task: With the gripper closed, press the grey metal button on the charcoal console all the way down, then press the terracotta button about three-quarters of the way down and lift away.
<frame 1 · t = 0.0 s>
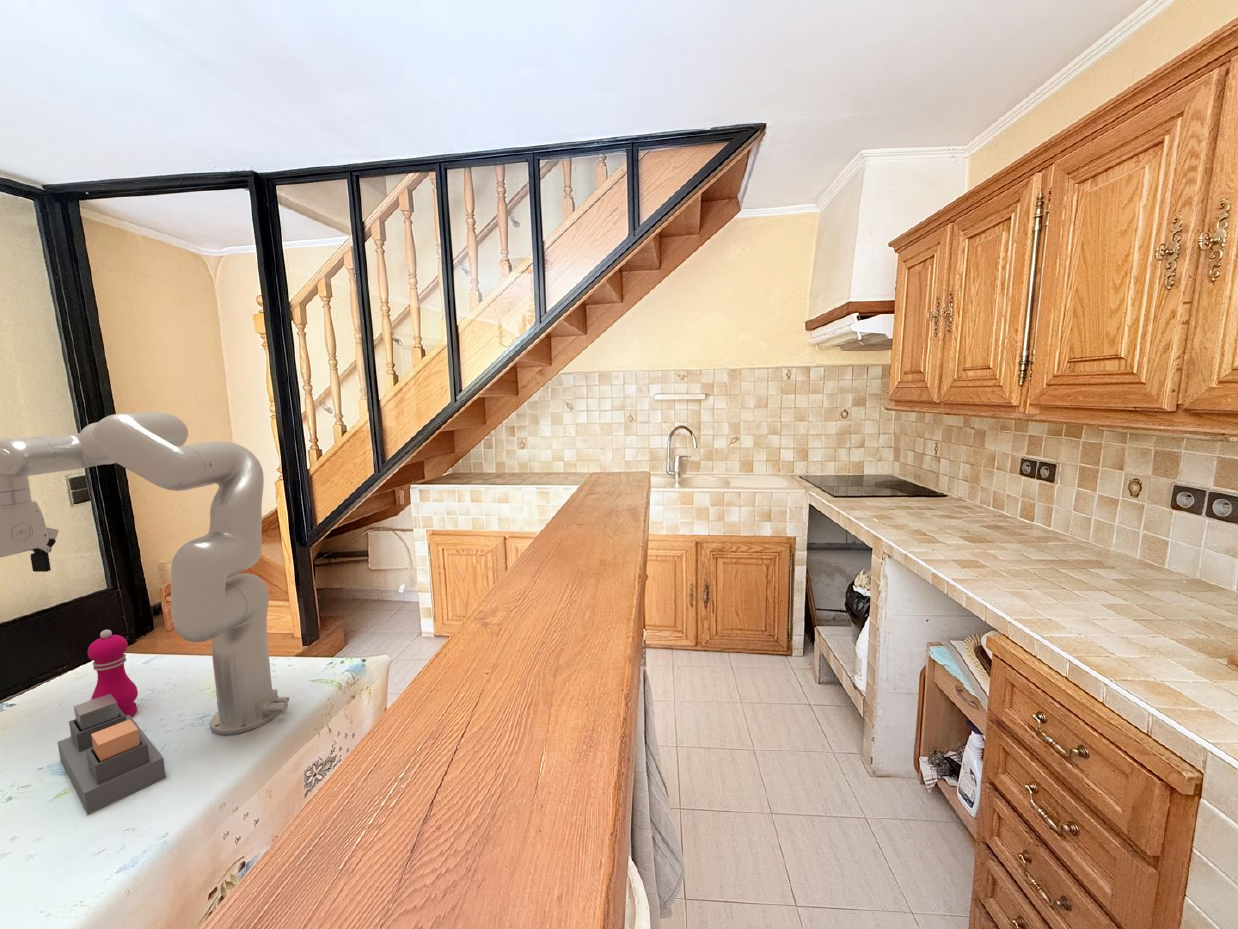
hand: (15, 579, 104), 31 cm above the table, tool pointing down, fingers open, 9 cm apart
terracotta button: (115, 739, 88), point 9 cm above the table, slide at 0.0 cm
grey button: (96, 711, 96), point 9 cm above the table, slide at 0.0 cm
pepper mill: (117, 718, 109), on the table
console: (112, 769, 93), on the table
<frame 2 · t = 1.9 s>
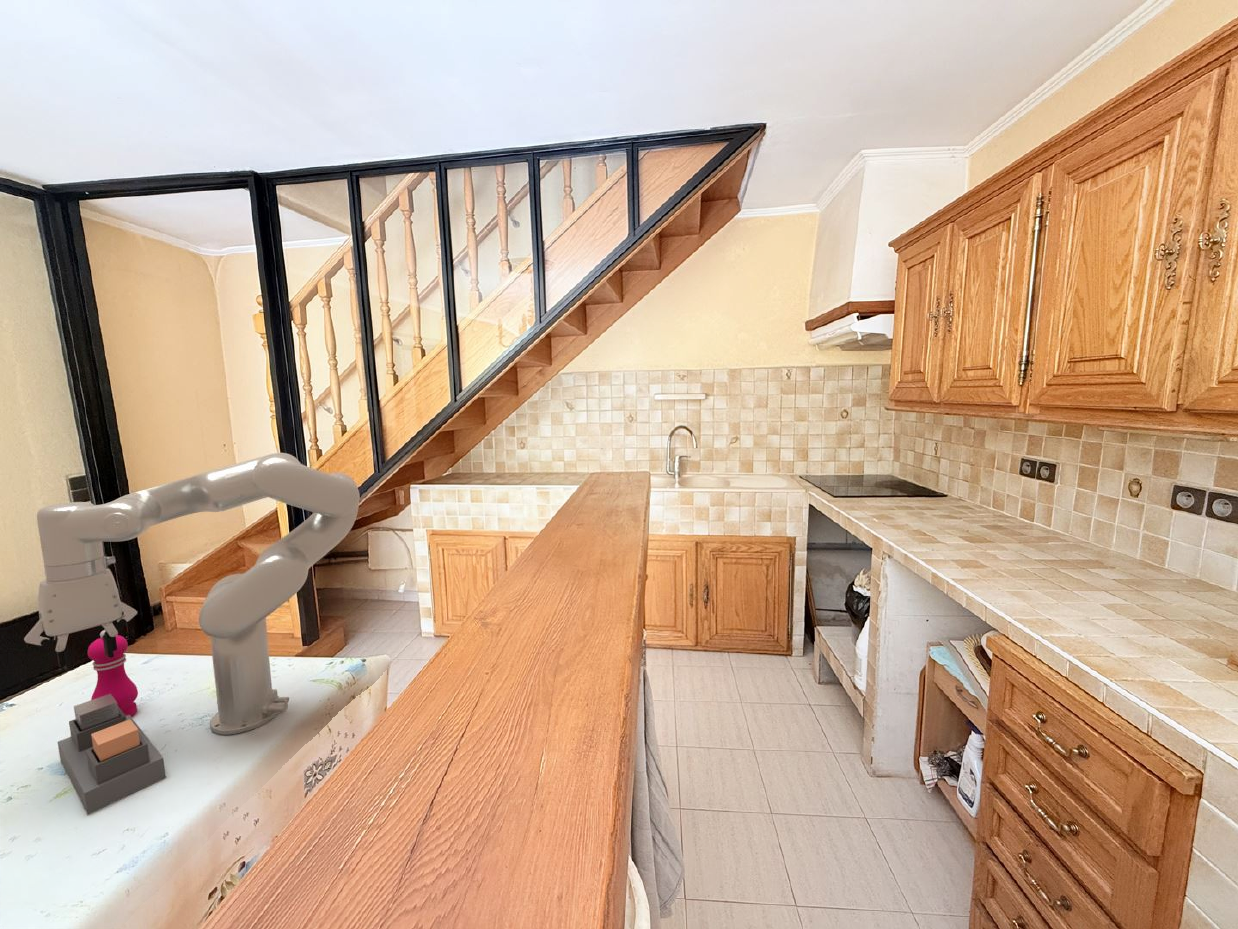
hand: (89, 660, 95), 19 cm above the table, tool pointing down, fingers open, 4 cm apart
nothing on the table moved.
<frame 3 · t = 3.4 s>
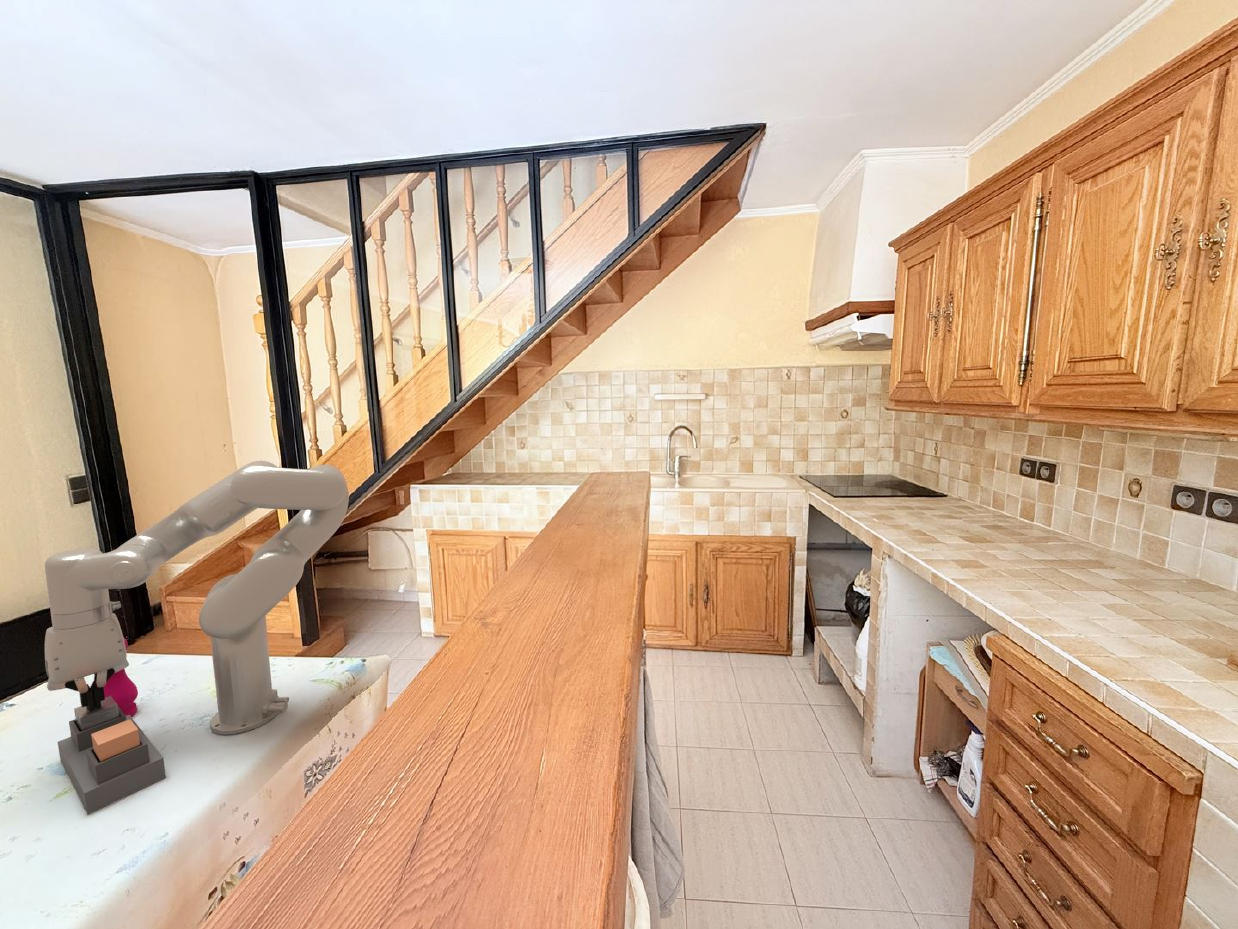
hand: (93, 706, 96), 10 cm above the table, tool pointing down, fingers closed
grey button: (96, 713, 96), point 9 cm above the table, slide at 0.5 cm, touching gripper
everything else where it was.
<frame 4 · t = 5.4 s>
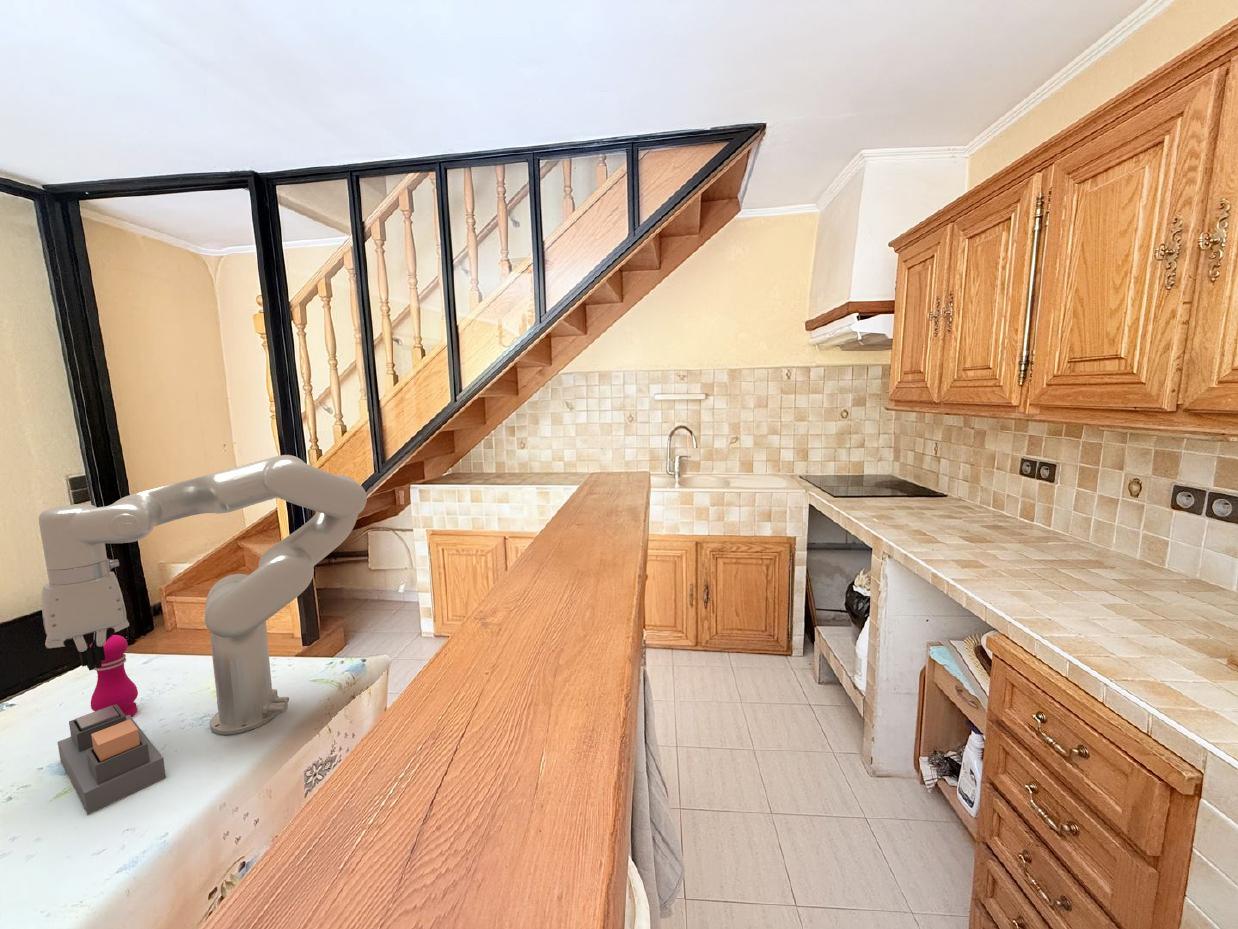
hand: (94, 666, 94), 19 cm above the table, tool pointing down, fingers closed
grey button: (98, 723, 96), point 6 cm above the table, slide at 2.5 cm
everything else where it was.
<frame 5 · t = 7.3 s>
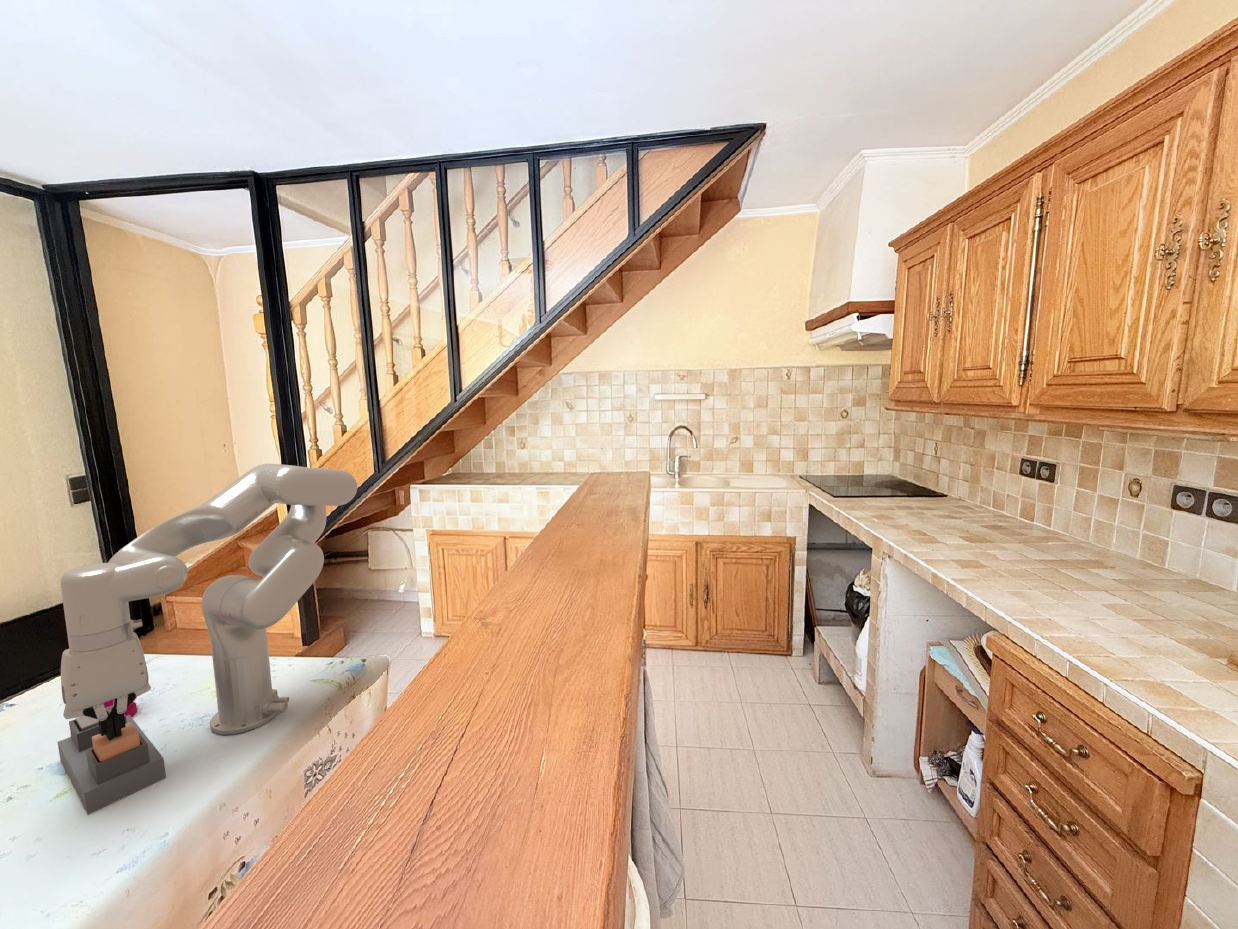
hand: (113, 735, 88), 10 cm above the table, tool pointing down, fingers closed
terracotta button: (116, 742, 88), point 8 cm above the table, slide at 0.5 cm, touching gripper
everything else where it was.
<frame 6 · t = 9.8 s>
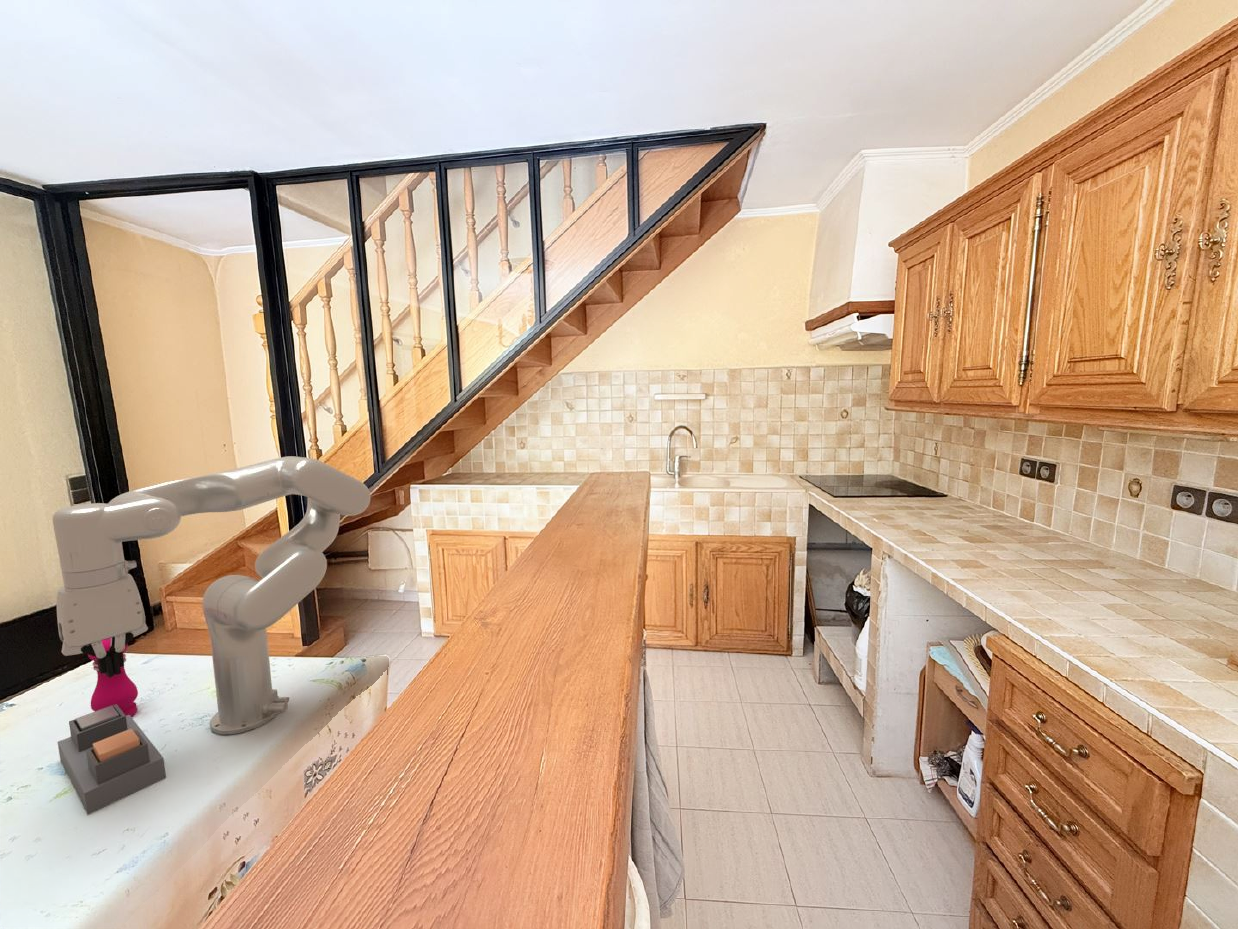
hand: (112, 673, 89), 20 cm above the table, tool pointing down, fingers closed
terracotta button: (117, 749, 89), point 7 cm above the table, slide at 1.9 cm
everything else where it was.
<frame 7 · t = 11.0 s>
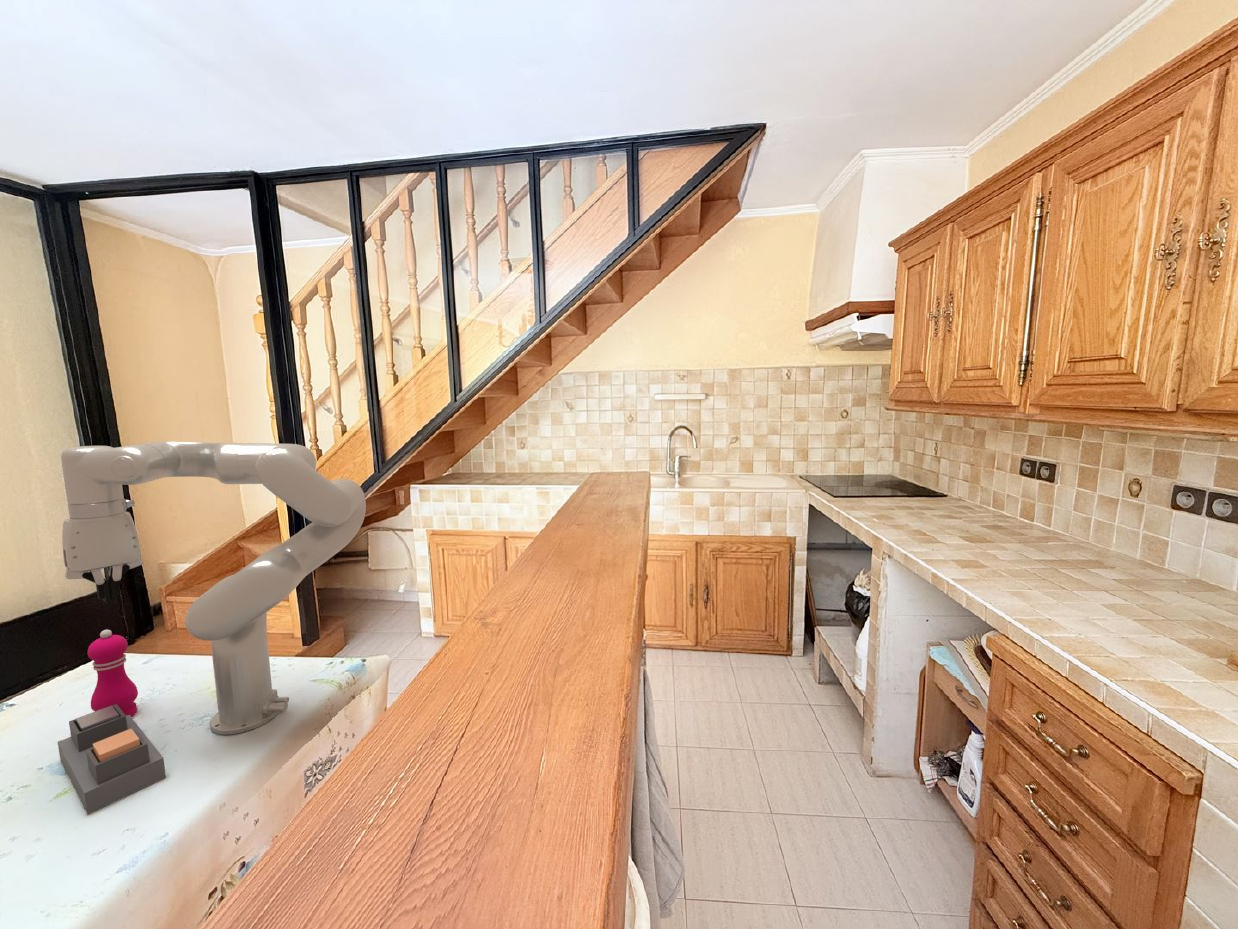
hand: (109, 600, 99), 29 cm above the table, tool pointing down, fingers closed
nothing on the table moved.
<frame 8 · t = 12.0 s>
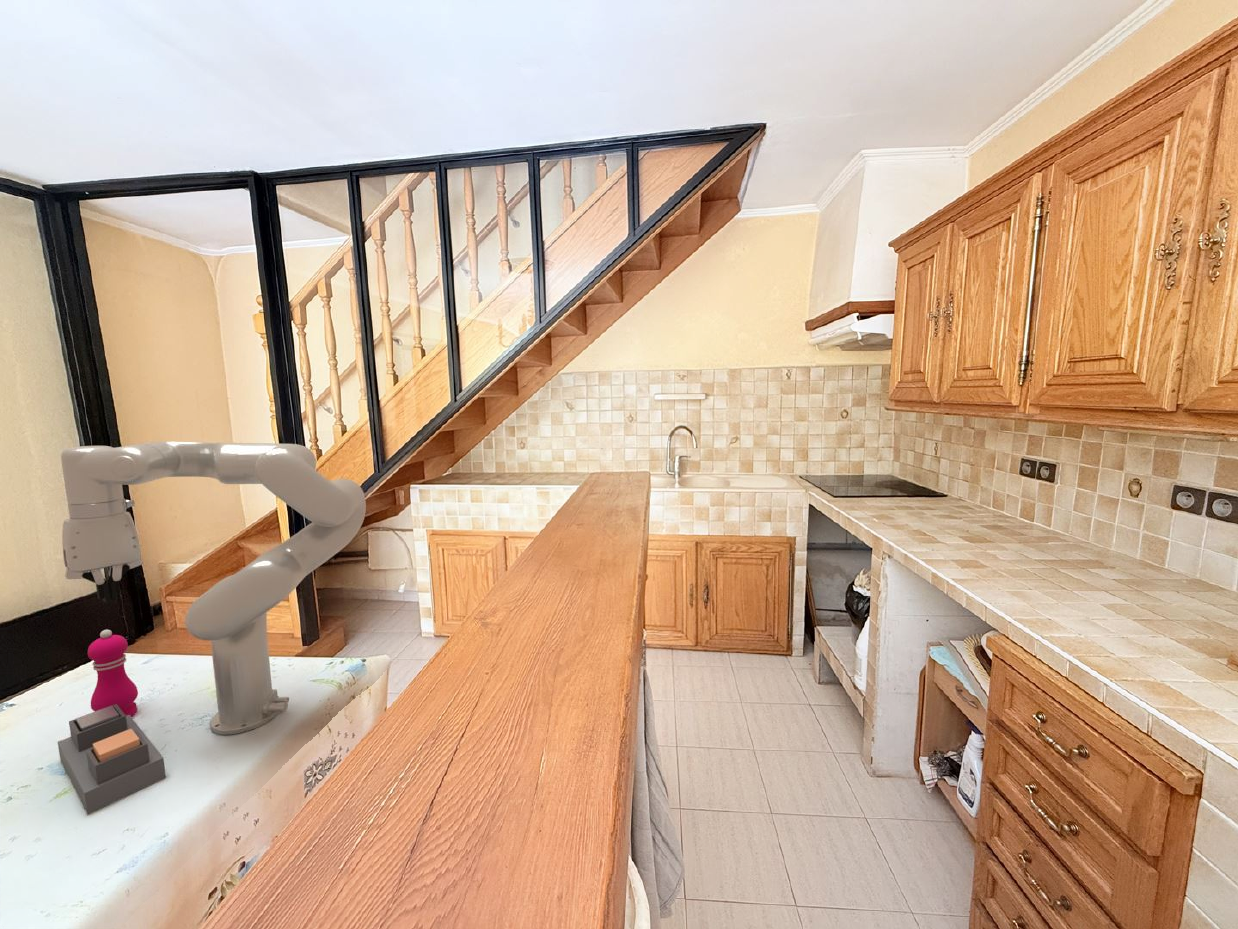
hand: (109, 600, 99), 29 cm above the table, tool pointing down, fingers closed
nothing on the table moved.
at the end: grey button slide at 2.5 cm; terracotta button slide at 1.9 cm; pepper mill moved 0.2 cm from its start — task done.
